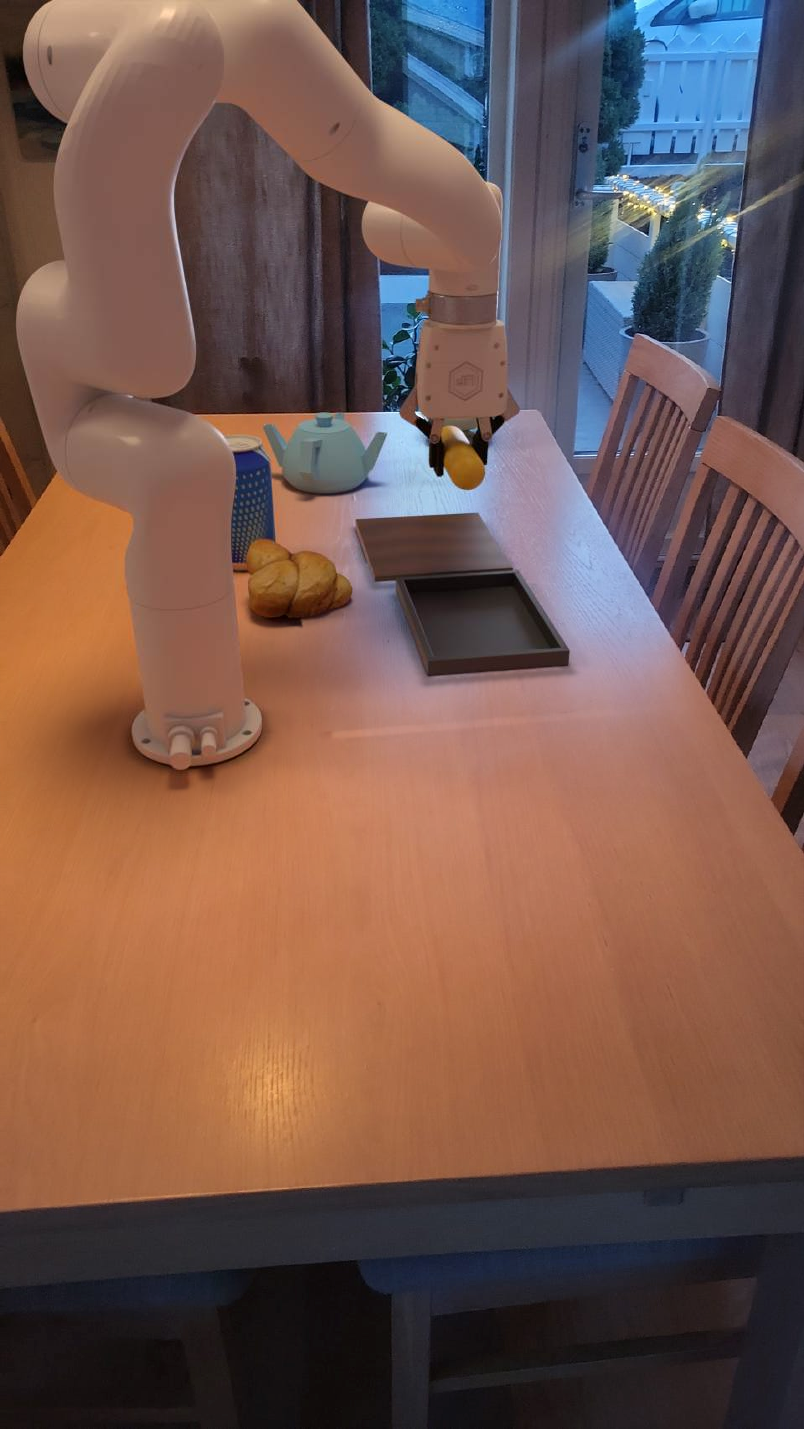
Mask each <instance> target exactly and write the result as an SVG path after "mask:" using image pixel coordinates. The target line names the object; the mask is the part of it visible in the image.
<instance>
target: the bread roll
mask: <svg viewBox="0 0 804 1429" xmlns="http://www.w3.org/2000/svg"><path fill="white" fill-rule="evenodd" d="M246 565H247V570H246V571H247V573H248V574H249V575H250V576H249V578H248V581H247V584H248V585H247V590H248V591H247V592H248V596H249V604H248V605H249V607H250V609H251V610H252V611H253V612H255V613H256V614H257V615H259V616H261V617H264V618H279V617H280V618H281V617H282V616H283V615H286V616H287V617H288V618H296V619H302V618H306V617H307V618H309V617H310V618H311V617H315V616H316V615H318V614H321V613H324V612H325V611H331V610H333V609H337V608H340V607H342V606H344V605H345V604H347V603H348V602H349V601H350V599H351V598H352V594H353V585H352V584H351V582H350V580H349V579H348V578H347V577H346V576H344V574H341V573H338V572H337V569H336V565H335V563H334V562H333V561H332V560H331V559H330V558H328V557H327V556H325V555H324V554H321V553H319V552H315V551H311V550H302V551H298V552H293V553H292V552H290V551H289V549H287V548H286V547H284V546H282V545H281V544H280V543H277V542H275V541H273V540H270V539H264V538H263V539H257V540H255V541H253V542H252V543H251V545H250V547H249V550H248V553H247V556H246Z"/></svg>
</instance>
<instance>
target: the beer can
mask: <svg viewBox="0 0 804 1429" xmlns="http://www.w3.org/2000/svg"><path fill="white" fill-rule="evenodd" d="M223 436H224V437H225V439H226V440H227V442H228V443H229V445H230V447H231V449H232V452H233V455H234V459H235V465H236V483H235V493H234V500H233V508H232V518H231V554H232V568H233V571H248V570H247V565H246V556H247V553H248V550H249V547H250V545H251V543H252V542H253V541H255V540H257V539H263V538H264V539H270V540H273V541H275V542H276V527H275V523H276V522H275V510H274V508H275V507H274V495H273V478H272V462H271V460H272V459H271V456H270V454H269V453H268V451H267V450H266V449H265V448H264V446H263V441H262V439H261V438H260V437H257V436H254V435H252V434H251V435H250V434H227V435H223ZM276 543H277V542H276Z"/></svg>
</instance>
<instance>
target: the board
mask: <svg viewBox="0 0 804 1429" xmlns="http://www.w3.org/2000/svg"><path fill="white" fill-rule="evenodd" d="M354 522H355V531H356V534H357V537H358V541H359V543H360V547H361V549H362V552H363V555H364V558H365V561H366V563H367V564H368V565H369V568H370V571H371V574H372V577H373V580H374V582H392V581H396V578H400V577H416V576H432V575H448V574H464V573H480V572H496V571H512V570H514V567H513V565H512V564H511V562H510V560H509V559H508V557H507V556H506V554H505V553H504V551H503V549H502V547H501V546H500V545H499V543H498V541H497V540H496V539H495V537H494V535H493V534H492V532H491V531H490V529H489V527H488V525H487V523H485V521H484V519H483V518H482V516H481V515H480V512H461V513H446V514H445V513H443V514H442V513H441V514H425V515H408V516H407V515H406V516H390V517H387V516H386V517H370V518H368V517H367V518H355V520H354Z"/></svg>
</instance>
